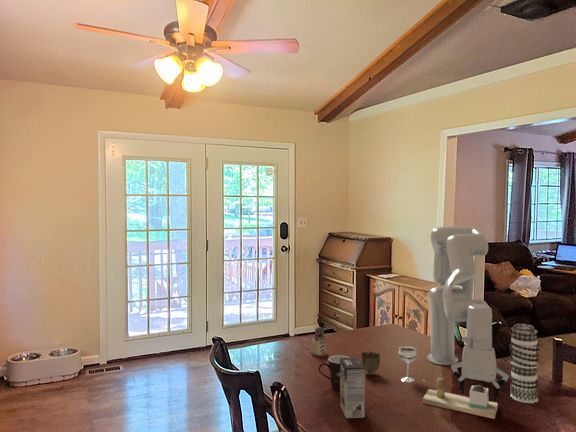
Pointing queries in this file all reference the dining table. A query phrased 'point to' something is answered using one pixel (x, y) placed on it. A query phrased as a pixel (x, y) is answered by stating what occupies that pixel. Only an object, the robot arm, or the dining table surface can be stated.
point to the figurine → (319, 343)
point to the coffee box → (352, 387)
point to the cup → (370, 362)
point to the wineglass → (407, 358)
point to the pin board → (457, 401)
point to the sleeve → (479, 398)
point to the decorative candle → (524, 363)
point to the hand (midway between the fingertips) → (479, 395)
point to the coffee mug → (334, 370)
